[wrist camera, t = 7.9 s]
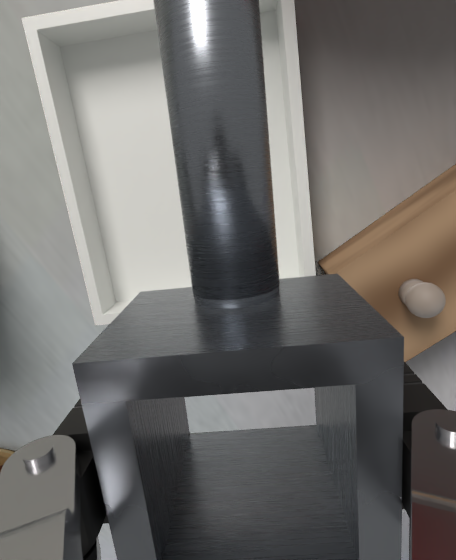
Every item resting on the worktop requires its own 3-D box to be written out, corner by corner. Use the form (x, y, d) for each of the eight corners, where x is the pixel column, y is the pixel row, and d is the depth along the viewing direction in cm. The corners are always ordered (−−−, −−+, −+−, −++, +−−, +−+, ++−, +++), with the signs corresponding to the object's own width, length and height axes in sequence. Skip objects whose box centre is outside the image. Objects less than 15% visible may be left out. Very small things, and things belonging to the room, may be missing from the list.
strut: (322, -204, 8) (417, -673, 4) (343, 445, 12) (400, 595, 7) (64, -158, 8) (-134, -533, 4) (168, 455, 12) (128, 605, 8)
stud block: (543, 231, 30) (648, 249, 22) (374, 340, 33) (415, 389, 25) (490, 139, 29) (583, 123, 21) (317, 262, 32) (342, 288, 24)
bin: (308, 285, 32) (317, 299, 28) (112, 308, 33) (95, 325, 30) (284, 0, 27) (291, -31, 23) (52, 40, 28) (21, 17, 24)
